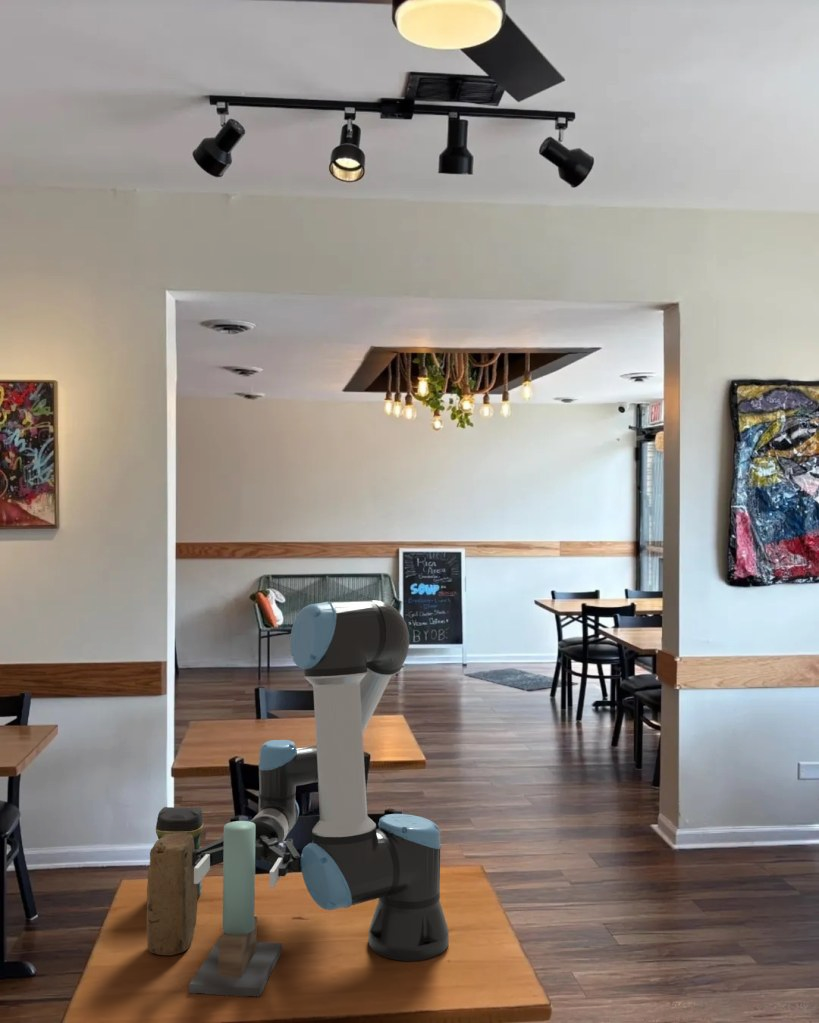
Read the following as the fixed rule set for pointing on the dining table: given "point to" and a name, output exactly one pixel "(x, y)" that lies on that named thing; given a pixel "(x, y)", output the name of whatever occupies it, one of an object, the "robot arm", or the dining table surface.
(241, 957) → the ridge stand
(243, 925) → the cylinder
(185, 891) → the block
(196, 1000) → the dining table surface
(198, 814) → the coffee jar
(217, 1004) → the dining table surface
